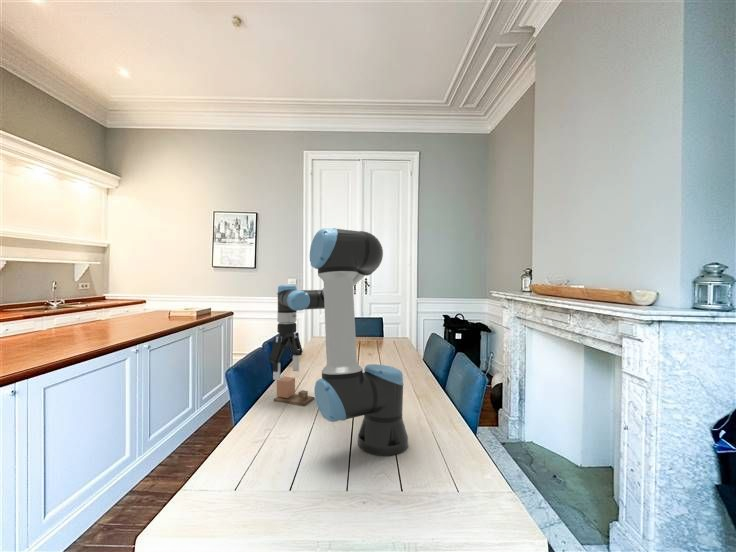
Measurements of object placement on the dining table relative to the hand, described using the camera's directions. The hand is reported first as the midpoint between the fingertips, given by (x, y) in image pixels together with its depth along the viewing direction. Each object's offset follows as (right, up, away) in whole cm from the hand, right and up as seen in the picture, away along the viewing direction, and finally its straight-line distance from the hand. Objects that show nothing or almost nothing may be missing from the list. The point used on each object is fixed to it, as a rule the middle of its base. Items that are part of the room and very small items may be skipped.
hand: (286, 375), depth 140 cm
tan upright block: (0, -8, +1) cm, 8 cm away
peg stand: (+3, -10, -1) cm, 10 cm away
